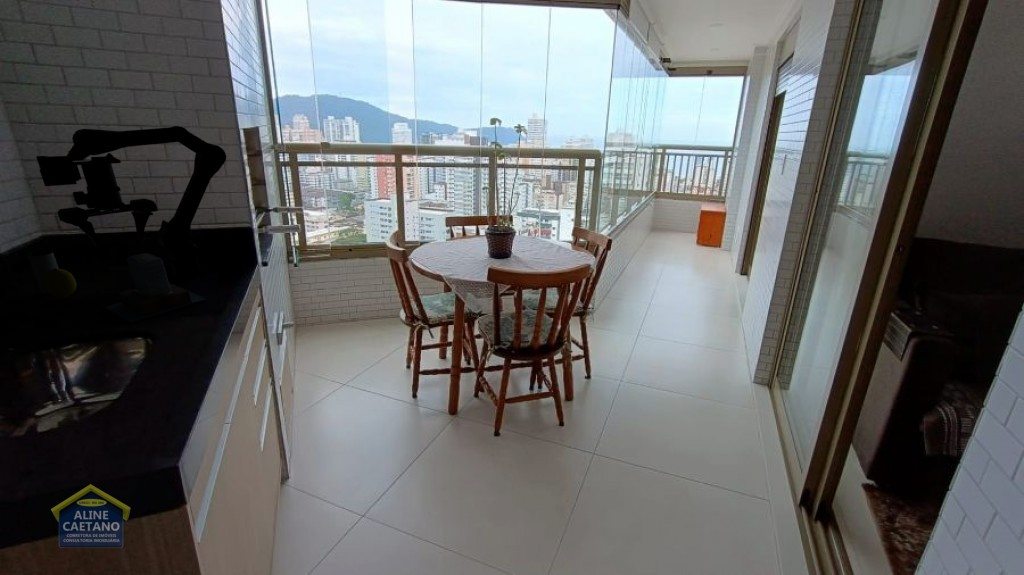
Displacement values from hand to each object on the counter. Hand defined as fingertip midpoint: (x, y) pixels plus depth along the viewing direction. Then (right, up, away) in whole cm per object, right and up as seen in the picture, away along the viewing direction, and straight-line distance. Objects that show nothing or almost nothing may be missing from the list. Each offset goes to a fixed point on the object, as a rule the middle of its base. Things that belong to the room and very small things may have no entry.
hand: (119, 242), depth 119 cm
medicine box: (+15, -13, -7) cm, 21 cm away
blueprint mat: (+15, -16, -6) cm, 23 cm away
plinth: (+15, -16, -6) cm, 23 cm away
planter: (-17, -13, -1) cm, 21 cm away
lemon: (-10, -15, -4) cm, 18 cm away
